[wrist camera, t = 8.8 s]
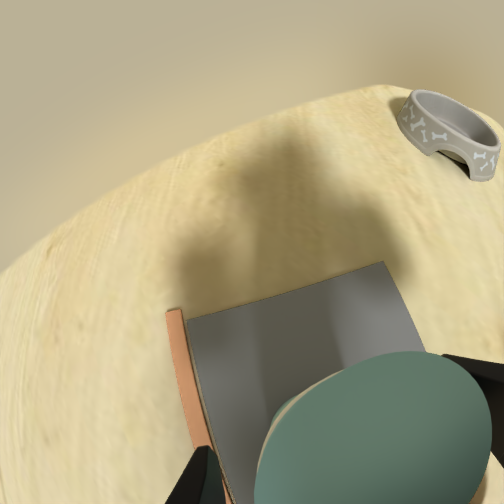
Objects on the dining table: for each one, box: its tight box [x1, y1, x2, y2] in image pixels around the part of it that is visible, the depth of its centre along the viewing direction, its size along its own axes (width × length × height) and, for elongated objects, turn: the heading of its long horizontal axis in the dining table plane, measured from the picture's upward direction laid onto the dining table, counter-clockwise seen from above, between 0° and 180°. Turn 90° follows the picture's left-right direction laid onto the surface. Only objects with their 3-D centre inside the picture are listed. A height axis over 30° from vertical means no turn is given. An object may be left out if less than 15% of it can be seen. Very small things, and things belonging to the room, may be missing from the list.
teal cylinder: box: [254, 351, 492, 504], centre depth 9 cm, size 6×6×13 cm
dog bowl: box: [397, 89, 501, 182], centre depth 28 cm, size 17×18×5 cm
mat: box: [187, 261, 426, 504], centre depth 15 cm, size 16×20×1 cm
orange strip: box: [165, 309, 232, 504], centre depth 14 cm, size 22×1×1 cm, turn 16°
